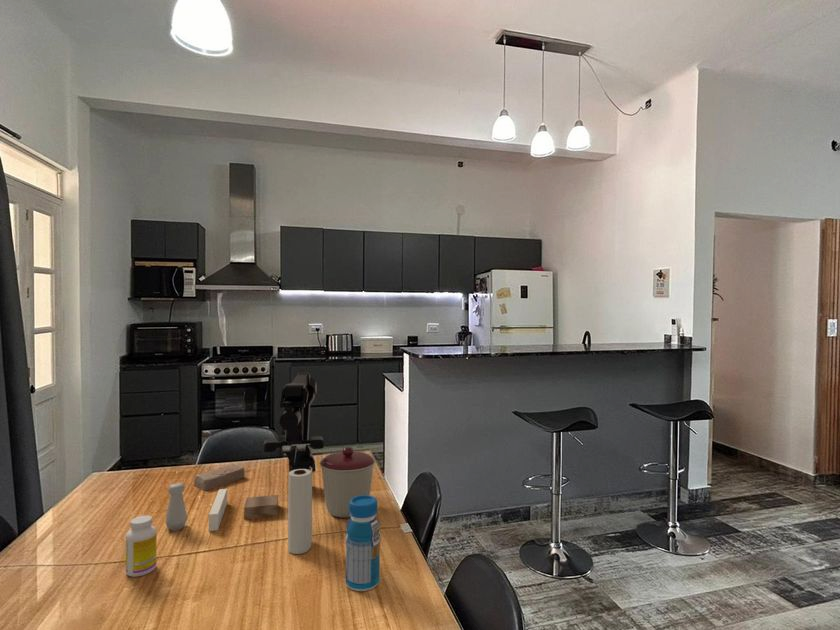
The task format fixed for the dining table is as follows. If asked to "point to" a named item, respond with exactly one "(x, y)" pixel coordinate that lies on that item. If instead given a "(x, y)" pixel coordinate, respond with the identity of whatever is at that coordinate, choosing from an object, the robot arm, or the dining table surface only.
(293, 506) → the paper towel roll
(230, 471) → the brick
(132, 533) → the supplement bottle
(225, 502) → the plank
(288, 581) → the dining table surface
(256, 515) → the walnut block
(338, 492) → the canister
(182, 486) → the salt shaker
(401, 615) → the dining table surface
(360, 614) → the dining table surface
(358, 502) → the beverage bottle
